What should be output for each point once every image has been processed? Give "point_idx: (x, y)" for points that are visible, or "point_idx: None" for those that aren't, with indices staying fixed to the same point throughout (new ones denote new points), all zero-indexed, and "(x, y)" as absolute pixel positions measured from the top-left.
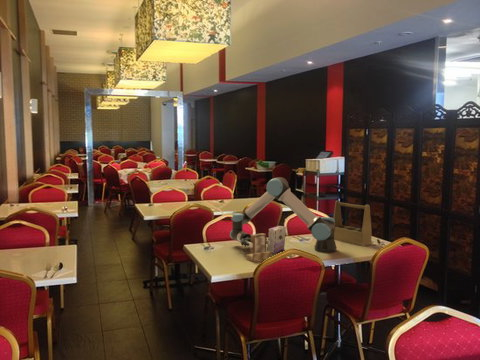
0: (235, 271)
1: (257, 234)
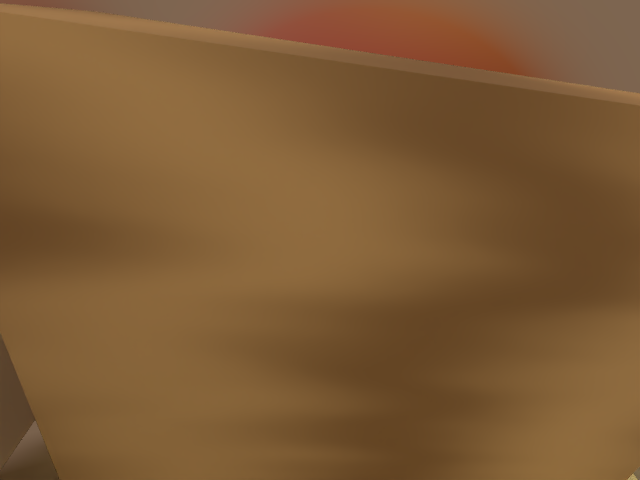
0: None
1: (484, 75)
